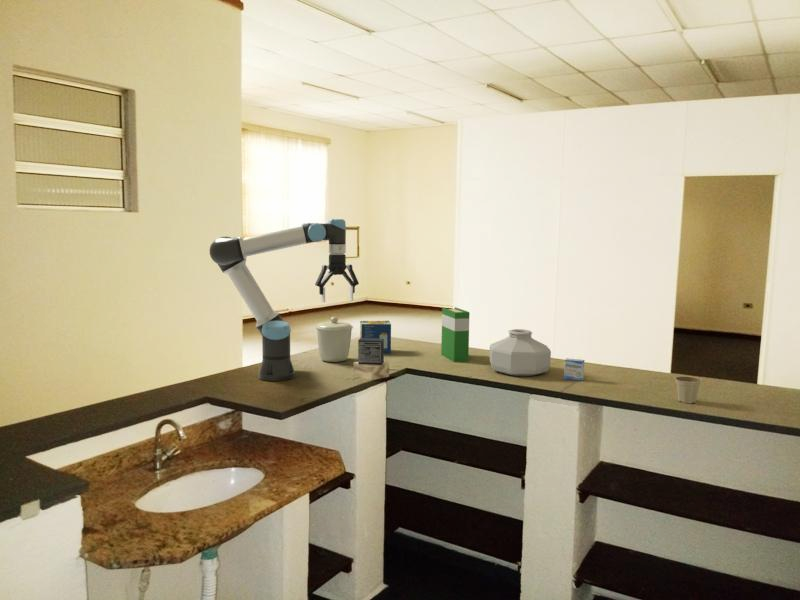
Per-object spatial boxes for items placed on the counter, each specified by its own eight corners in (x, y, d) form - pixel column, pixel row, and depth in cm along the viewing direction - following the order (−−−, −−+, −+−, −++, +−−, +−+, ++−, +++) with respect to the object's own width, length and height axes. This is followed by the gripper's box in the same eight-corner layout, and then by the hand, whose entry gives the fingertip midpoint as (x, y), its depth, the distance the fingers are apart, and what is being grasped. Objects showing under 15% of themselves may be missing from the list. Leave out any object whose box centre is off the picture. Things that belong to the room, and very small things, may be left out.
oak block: (371, 380, 274) (371, 367, 274) (353, 375, 283) (353, 362, 282) (389, 377, 281) (389, 363, 281) (370, 372, 290) (370, 359, 289)
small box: (384, 361, 284) (384, 338, 283) (382, 364, 278) (382, 340, 277) (360, 361, 285) (360, 337, 284) (357, 364, 279) (357, 340, 278)
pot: (479, 374, 288) (480, 332, 286) (498, 362, 313) (499, 324, 311) (542, 381, 276) (544, 338, 274) (556, 368, 301) (558, 328, 299)
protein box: (359, 350, 339) (360, 320, 337) (389, 349, 341) (389, 320, 339) (360, 354, 329) (361, 323, 327) (391, 353, 330) (391, 323, 329)
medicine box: (563, 379, 280) (564, 359, 279) (565, 377, 284) (565, 357, 283) (582, 381, 277) (583, 361, 276) (583, 379, 281) (584, 359, 280)
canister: (307, 360, 313) (307, 316, 310) (334, 354, 326) (334, 313, 324) (333, 365, 301) (333, 320, 299) (360, 359, 315) (360, 316, 312)
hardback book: (441, 354, 329) (442, 307, 326) (454, 354, 331) (455, 307, 328) (454, 362, 312) (455, 312, 309) (468, 361, 314) (469, 312, 312)
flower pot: (679, 404, 242) (681, 382, 241) (669, 397, 252) (670, 376, 251) (704, 404, 242) (706, 382, 241) (693, 398, 252) (694, 376, 251)
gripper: (314, 254, 281) (314, 303, 283) (366, 253, 293) (365, 300, 295) (307, 253, 287) (308, 301, 290) (358, 253, 299) (358, 299, 302)
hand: (337, 301), depth 292 cm, fingers open, 13 cm apart
